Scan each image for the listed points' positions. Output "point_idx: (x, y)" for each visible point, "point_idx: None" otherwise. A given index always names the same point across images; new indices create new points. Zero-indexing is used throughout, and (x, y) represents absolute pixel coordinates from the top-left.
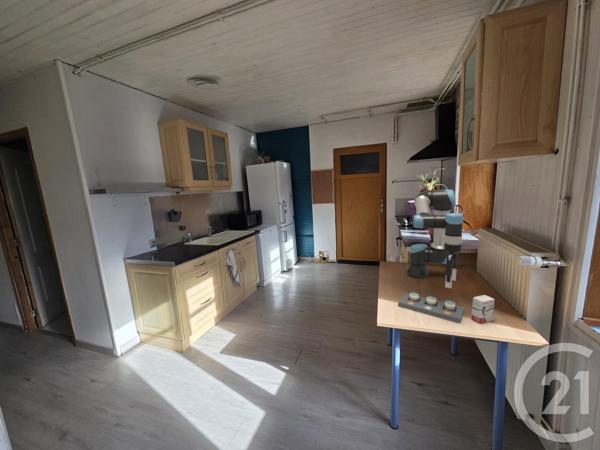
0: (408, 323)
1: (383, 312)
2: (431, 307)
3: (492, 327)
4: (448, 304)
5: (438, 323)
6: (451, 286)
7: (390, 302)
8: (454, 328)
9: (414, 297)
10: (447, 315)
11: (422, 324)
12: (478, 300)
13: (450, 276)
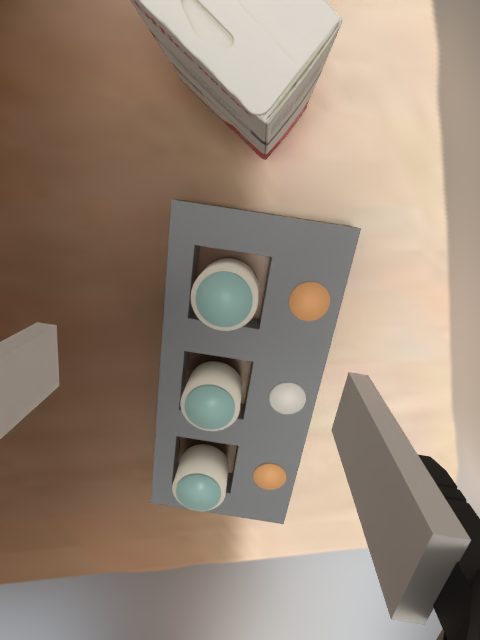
0: (443, 452)
1: None
2: (271, 383)
3: None
4: (256, 308)
5: (393, 332)
6: (365, 385)
7: (256, 533)
8: (422, 256)
9: (225, 480)
10: (341, 300)
11: (432, 399)
12: (315, 64)
13: (450, 545)
